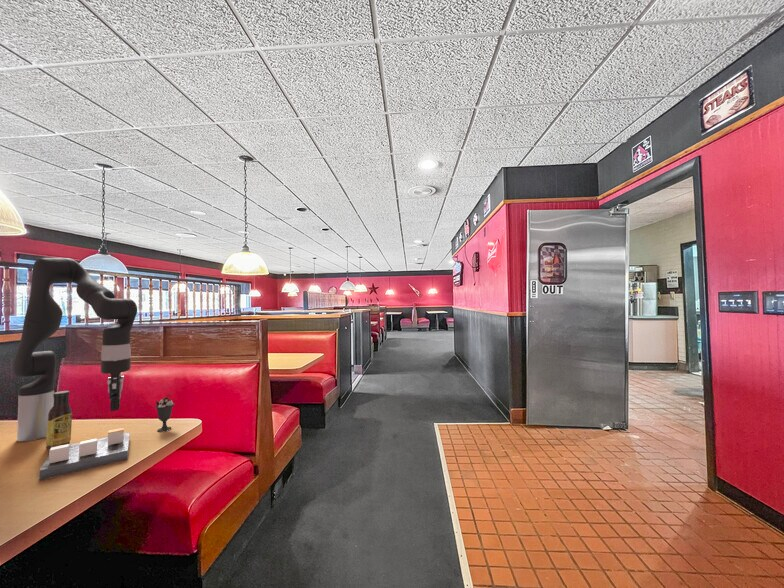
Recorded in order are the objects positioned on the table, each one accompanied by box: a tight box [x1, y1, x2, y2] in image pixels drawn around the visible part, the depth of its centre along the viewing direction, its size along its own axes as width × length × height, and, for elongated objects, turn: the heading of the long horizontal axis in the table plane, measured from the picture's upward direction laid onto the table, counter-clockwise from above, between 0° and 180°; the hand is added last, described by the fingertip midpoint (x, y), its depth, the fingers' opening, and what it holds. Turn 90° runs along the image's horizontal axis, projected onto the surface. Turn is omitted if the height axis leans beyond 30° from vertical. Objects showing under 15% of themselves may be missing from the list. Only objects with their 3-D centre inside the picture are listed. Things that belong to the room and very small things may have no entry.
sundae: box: [154, 394, 175, 433], centre depth 129 cm, size 7×7×15 cm
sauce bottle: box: [45, 390, 73, 451], centre depth 113 cm, size 7×6×20 cm
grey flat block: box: [38, 432, 131, 481], centre depth 105 cm, size 18×20×3 cm
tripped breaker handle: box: [107, 427, 125, 445], centre depth 109 cm, size 2×4×4 cm, turn 129°
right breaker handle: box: [48, 443, 71, 463], centre depth 97 cm, size 2×4×4 cm, turn 128°
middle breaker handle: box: [79, 438, 98, 457], centre depth 102 cm, size 2×4×4 cm, turn 129°
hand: (115, 408), depth 104 cm, fingers open, 3 cm apart
